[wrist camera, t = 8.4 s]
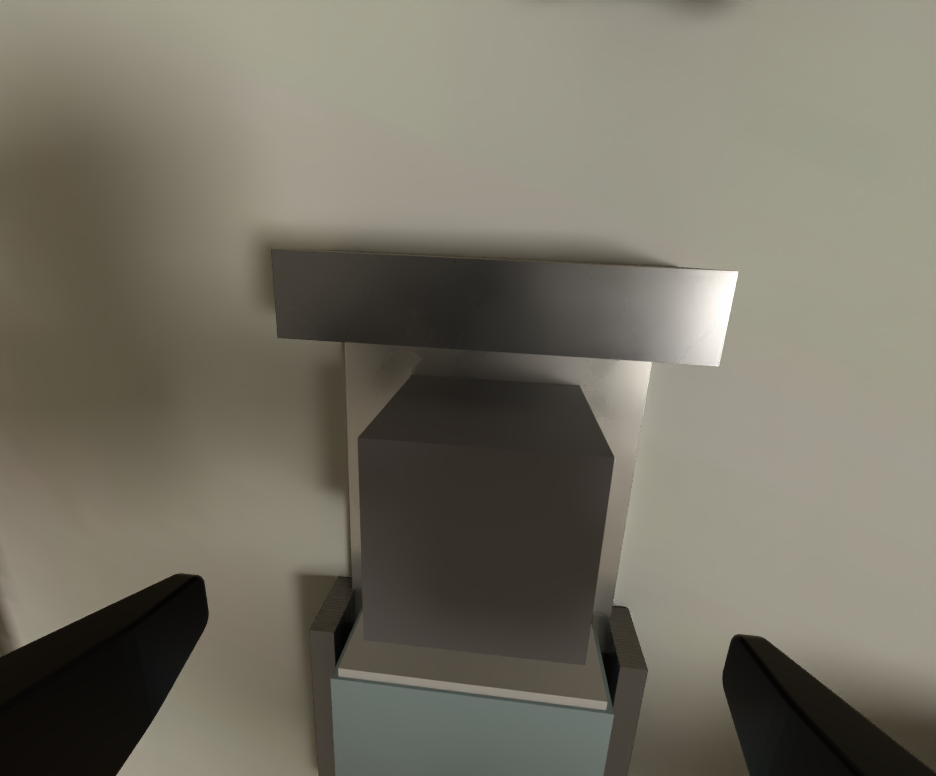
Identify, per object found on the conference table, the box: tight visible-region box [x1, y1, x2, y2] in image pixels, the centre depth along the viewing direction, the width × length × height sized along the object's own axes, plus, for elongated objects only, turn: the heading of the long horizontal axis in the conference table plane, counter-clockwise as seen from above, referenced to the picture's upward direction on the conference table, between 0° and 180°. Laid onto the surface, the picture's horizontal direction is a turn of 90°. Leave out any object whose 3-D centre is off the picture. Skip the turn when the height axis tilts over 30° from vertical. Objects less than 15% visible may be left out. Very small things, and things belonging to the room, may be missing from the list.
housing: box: [357, 375, 615, 665], centre depth 12 cm, size 5×6×5 cm
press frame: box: [271, 249, 738, 776], centre depth 15 cm, size 10×22×4 cm, turn 177°
